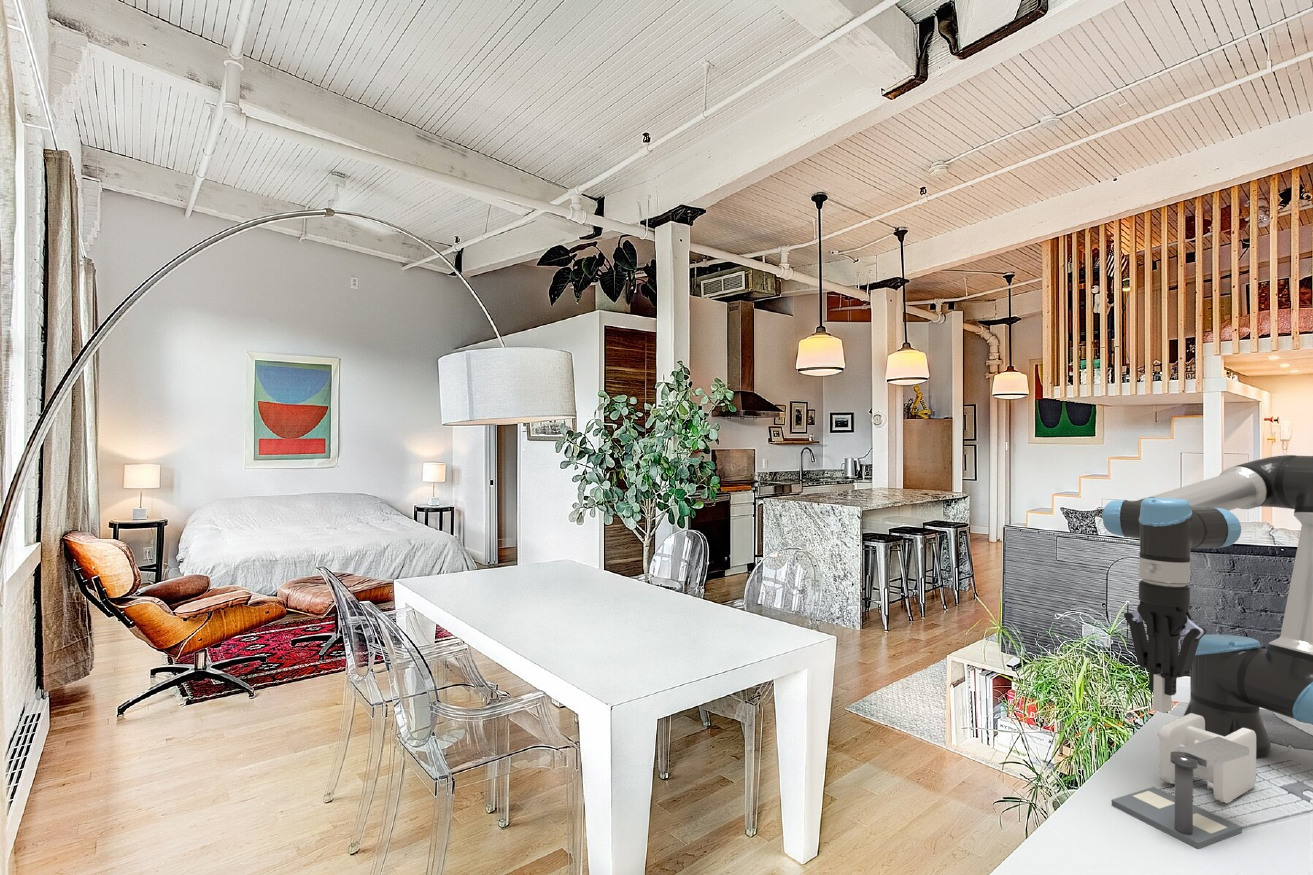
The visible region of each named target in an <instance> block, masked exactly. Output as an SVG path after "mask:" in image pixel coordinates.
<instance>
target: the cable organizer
mask: <svg viewBox="0 0 1313 875" xmlns="http://www.w3.org/2000/svg"><path fill="white" fill-rule="evenodd" d="M1157 737H1158V738H1159V740H1158V741H1159V742H1158V748H1159V749H1158V750H1159V752H1158V754H1159V755H1158V758H1159V759H1158V762H1159V763H1158V776H1159V779H1160V780H1161V781H1164V782H1166V783H1169V784H1171V785H1175V764H1173V763H1172V762H1171V761H1170V753H1171V752H1174V751H1176V748H1180V747H1183V746H1187V745H1190V744H1194V743H1198V742H1201V741H1205V740H1208V739H1212V738H1215V737H1221V738H1224V739H1227V740H1229V741H1232V742H1235V743H1238V744H1241V745H1243V746H1246V747H1249V755H1246V756H1243V757H1240V758H1237V759H1233V760H1230V761H1227V762H1224V763H1220V764H1217V765H1214V766H1211V767H1204V766H1202V765H1199V764H1198V768H1196V769H1193V778H1194V777H1195V778H1197V779H1200V780H1203V781H1204V782H1207V786H1206V790H1209V791H1210V790H1211V789H1213V796H1214V799H1216V800H1217V801H1219V802H1222V803H1223V802H1225V803H1228V802H1229V803H1231V802H1232V801H1234V800H1235V799H1236V798H1238V797H1240V796H1241V795H1244V794H1246V793H1247V792H1249V791H1250V790H1251V789H1252V788H1253V787H1254V786H1255V783H1256V781H1257V780H1256V779H1257V757H1256V733H1255V732H1254V731H1253V730H1250V729H1247V728H1241V729H1239V730H1237V731H1235V732H1233V733H1231V734H1229V735H1227V736H1225V737H1224V736H1221V735H1218V734H1215V733H1212V732H1208V731H1205V720H1204V718H1203V717H1202V716H1200V715H1196V714H1193V713H1190V714H1188V715H1185V716H1183V715H1182V716H1181V717H1178V718H1177V719H1173V720H1172V721H1169V722H1167V723H1165V724H1163V725H1162V726H1160V729H1158V730H1157ZM1248 790H1249V791H1248ZM1246 791H1247V792H1246ZM1245 792H1246V793H1245ZM1243 793H1244V794H1243ZM1233 799H1234V800H1233ZM1230 801H1231V802H1230ZM1225 803H1224V804H1225ZM1229 803H1228V804H1229Z"/></svg>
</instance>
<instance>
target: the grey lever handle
mask: <svg viewBox="0 0 1313 875" xmlns="http://www.w3.org/2000/svg"><path fill="white" fill-rule="evenodd" d="M1246 755H1249V747H1246V746H1243V745H1241V744H1238V743H1235V742H1232V741H1229V740H1227V739H1224V738H1221V737H1215V738H1212V739H1208V740H1205V741H1201V742H1198V743H1194V744H1190V745H1187V746H1183V747H1180V748H1176V751H1174V752H1171V753H1170V761H1171V762H1172V763H1173V764H1175V765H1177V766H1180V767H1183V768H1188V769H1196V768H1198V764H1199V765H1202V766H1204V767H1211V766H1214V765H1217V764H1220V763H1224V762H1227V761H1230V760H1233V759H1237V758H1240V757H1243V756H1246Z"/></svg>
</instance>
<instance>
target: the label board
mask: <svg viewBox="0 0 1313 875" xmlns="http://www.w3.org/2000/svg"><path fill="white" fill-rule="evenodd" d="M1111 806H1112V807H1115V808H1116V809H1118V810H1120V811H1121V812H1124V813H1126V814H1127V815H1130V816H1132V817H1134V818H1135V819H1138V820H1140V821H1142V822H1144V823H1146V824H1147V825H1150V826H1152V827H1154V828H1156V829H1157V830H1159V831H1162V832H1164V833H1165V834H1168V835H1170V836H1172V837H1174V838H1175V839H1177V840H1179V841H1181V842H1184V843H1185V844H1187V845H1189V846H1192V847H1193V848H1196V849H1197V850H1200V849H1202V848H1205V847H1207V846H1210V845H1213V844H1215V843H1218V842H1220V841H1223V840H1226V839H1228V838H1231V837H1234V836H1236V835H1239V834H1242V833H1243V826H1241V825H1239V824H1237V823H1235V822H1233V821H1230V820H1228V819H1226V818H1224V817H1221V816H1219V815H1217V814H1215V813H1212V812H1211V811H1208V810H1206V809H1204V808H1202V807H1199V806H1197V805H1195V804H1194V776H1193V769H1188V768H1183V767H1180V766H1177V765H1175V784H1174V794H1172V793H1171V794H1170V793H1168V792H1167V791H1164V790H1162V789H1160V788H1158V787H1155V786H1151V787H1147V788H1145V789H1142V790H1139V791H1136V792H1133V793H1129V794H1126V795H1122V796H1119V797H1116V798H1112V799H1111Z"/></svg>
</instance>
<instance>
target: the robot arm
mask: <svg viewBox="0 0 1313 875" xmlns="http://www.w3.org/2000/svg"><path fill="white" fill-rule="evenodd" d="M1261 507H1263V508H1265V507H1266V508H1268V507H1269V508H1280V509H1289V510H1294V512H1293V516H1294V517H1295V518H1296V520H1298V521H1299V522H1300V524H1301V527H1300V533H1299V538H1298V544H1297V547H1296V548H1297V549H1296V554H1295V558H1294V559H1295V560H1294V564H1293V568H1292V574H1291V577H1290V578H1291V579H1290V583H1289V584H1290V585H1289V590H1288V593H1287V594H1288V596H1287V600H1286V604H1285V610H1284V616H1283V621H1282V627H1281V631H1280V636H1279V637H1278V638H1276V639H1274V640H1271V641H1269V642H1268V645H1267V650H1263V649H1261V648H1262V645H1261V643H1260V641H1259V640H1258V639H1255V638H1253V637H1248V636H1241V635H1233V634H1232V635H1231V634H1206V633H1207V629H1206V628H1205V627H1201V626H1198V625H1197V624H1196V623H1195V622H1193V621H1192V616H1191V615H1190V611H1189V608H1190V602H1191V599H1190V598H1191V591H1190V590H1191V588H1190V587H1189V586H1188V584H1190V582H1191V550H1194V549H1196V550H1197V549H1214V550H1215V549H1216V550H1217V549H1221V548H1225V547H1229V546H1230V547H1231V546H1232V545H1234V544H1235V543H1236V542H1238V540H1239V539H1240V537H1241V533H1242V526H1241V525H1242V524H1241V522H1240V520H1239V518H1238V517H1237V515H1235V514H1234V513H1233V512H1231V511H1233V510H1236V509H1241V510H1251V509H1255V508H1261ZM1101 515H1102V524H1103V526H1104V528H1105V530H1106V531H1107V532H1108V533H1110V534H1113V535H1115V536H1121V537H1124V538H1126V539H1127V538H1130V539H1131V538H1132V539H1138V540H1139V552H1138V553H1139V554H1138V555H1139V558H1138V559H1139V560H1138V561H1139V564H1138V565H1139V567H1138V573H1139V574H1138V576H1139V578H1140V579H1142V580H1140V581H1139V582H1138V600H1139V604H1138V605H1137V607H1136V610H1132V611H1129V612H1125V613H1124V614H1123V617H1124V619H1125V620H1126V622H1127V624H1128V626H1129V629H1130V634H1131V639H1132V643H1133V644H1132V645H1133V647H1134V652H1135V657H1136V663H1137V664H1138V666H1139V667H1143V668H1144V669H1146V670H1147V671H1148V682H1149V683H1148V687H1149V690H1150V691H1151V690H1152V691H1153V694H1152V695H1153V697H1152V698H1153V701H1152V702H1153V704H1152V710H1153V711H1155V712H1159V713H1167V712H1168V713H1169V712H1172V696H1175V695H1176V694H1177V679H1178V678H1183V677H1188V676H1189V675H1190V683H1189V684H1190V687H1189V688H1190V689H1189V690H1190V699H1189V702H1188V704H1187V707H1186V708H1185V711H1184V713H1183V715H1182V717H1183V716H1185V715H1188V714H1190V713H1193V714H1196V715H1200V716H1202V717H1203V718H1204V720H1205V731H1208V732H1212V733H1215V734H1218V735H1221V736H1224V737H1225V736H1227V735H1229V734H1231V733H1233V732H1235V731H1237V730H1239V729H1241V728H1247V729H1250V730H1253V731H1254V732H1255V733H1256V758H1262V757H1263V758H1264V757H1267V756H1269V755H1271V740H1270V737H1269V734H1268V732H1267V730H1266V727H1265V724H1264V722H1263V719H1262V717H1261V712H1260V708H1262V709H1264V710H1265V711H1270V712H1273V713H1276V714H1279V715H1282V716H1284V717H1287V718H1291V719H1294V720H1296V721H1297V722H1299V723H1303V724H1310V725H1313V455H1294V454H1286V455H1285V454H1283V455H1275V456H1269V457H1264V458H1260V459H1256V460H1251V461H1248V462H1245V463H1241V464H1237V465H1235V466H1231V467H1228V468H1226V469H1224V470H1222V471H1221V472H1220V474H1219V475H1218V476H1217V475H1216V476H1215V477H1214V476H1213V477H1210V478H1207V479H1205V480H1202V481H1197V482H1195V483H1192V484H1188V485H1184V486H1181V487H1178V488H1174V489H1171V490H1168V491H1165V492H1161V493H1158V494H1155V495H1152V496H1149V497H1143V498H1141V499H1137V500H1127V499H1117V500H1116V499H1115V500H1112V501H1110V502H1108V503H1107V504H1106V505H1105V506H1104V509H1103V510H1102V514H1101ZM1145 625H1146V628H1145ZM1184 629H1185V631H1184V634H1185V635H1184V636H1183V637H1184V638H1183V639H1182V644H1181V646H1180V648H1179V643H1180V642H1179V640H1180V639H1181V633H1182V631H1183V630H1184Z"/></svg>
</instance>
